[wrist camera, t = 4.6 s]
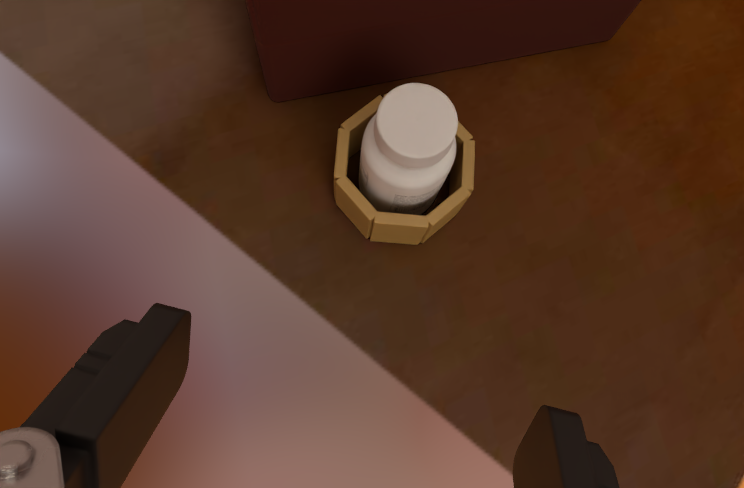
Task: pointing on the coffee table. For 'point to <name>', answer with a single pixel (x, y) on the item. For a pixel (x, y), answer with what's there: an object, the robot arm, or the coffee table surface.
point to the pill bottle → (408, 149)
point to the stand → (397, 224)
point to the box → (412, 37)
